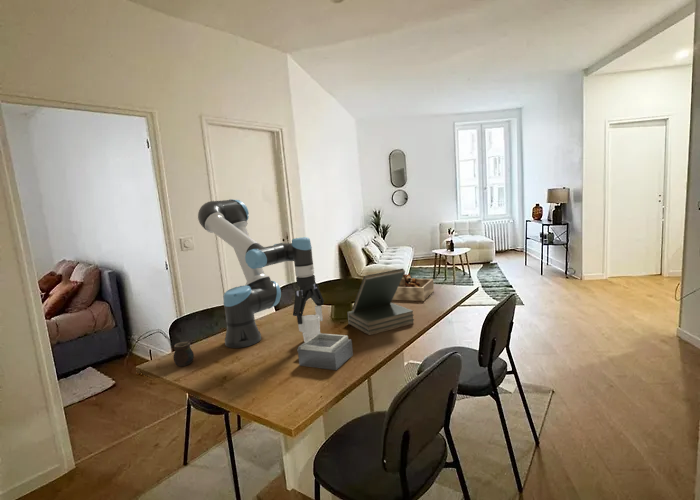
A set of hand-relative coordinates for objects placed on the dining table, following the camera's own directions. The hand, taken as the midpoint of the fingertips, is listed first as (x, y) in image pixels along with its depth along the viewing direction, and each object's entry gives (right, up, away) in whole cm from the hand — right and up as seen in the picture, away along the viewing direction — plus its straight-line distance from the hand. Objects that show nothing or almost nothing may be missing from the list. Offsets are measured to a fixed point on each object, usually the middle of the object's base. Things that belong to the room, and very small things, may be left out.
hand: (311, 325), depth 163 cm
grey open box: (+6, -9, -19) cm, 22 cm away
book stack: (+30, -2, +15) cm, 33 cm away
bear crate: (+50, +6, +59) cm, 78 cm away
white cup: (0, -7, +1) cm, 7 cm away
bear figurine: (+52, +6, +60) cm, 79 cm away
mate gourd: (-47, -13, -11) cm, 50 cm away
